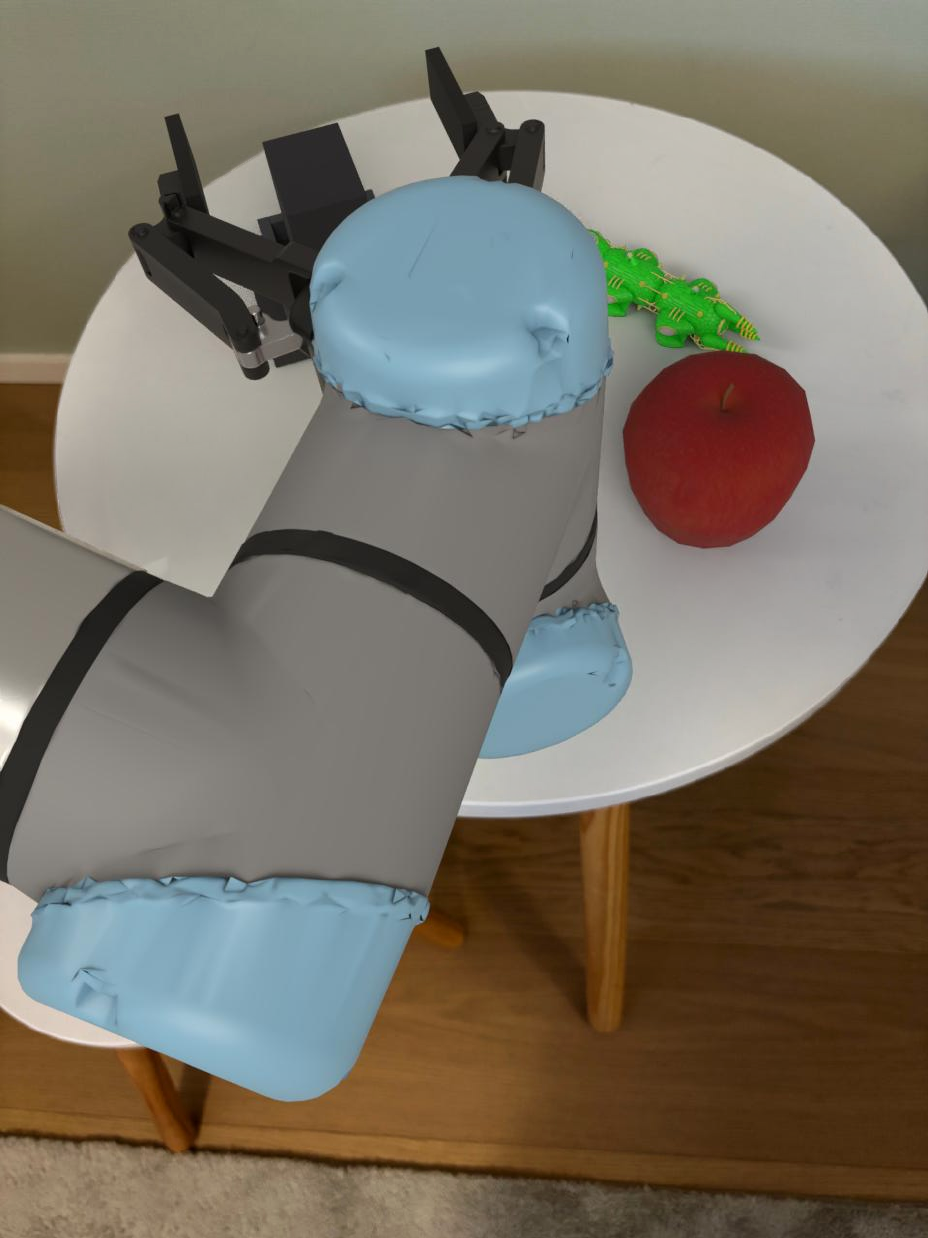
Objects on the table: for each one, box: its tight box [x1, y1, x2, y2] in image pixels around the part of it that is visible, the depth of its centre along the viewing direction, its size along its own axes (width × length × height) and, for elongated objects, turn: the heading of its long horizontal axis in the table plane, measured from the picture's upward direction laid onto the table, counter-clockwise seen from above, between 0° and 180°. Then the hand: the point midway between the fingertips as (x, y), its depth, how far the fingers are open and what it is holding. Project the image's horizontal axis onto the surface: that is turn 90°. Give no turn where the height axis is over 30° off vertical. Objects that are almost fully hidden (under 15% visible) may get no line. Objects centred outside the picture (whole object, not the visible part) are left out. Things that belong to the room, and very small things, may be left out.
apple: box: [621, 350, 816, 549], centre depth 67 cm, size 12×12×13 cm
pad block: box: [261, 122, 368, 252], centre depth 81 cm, size 6×9×10 cm, turn 17°
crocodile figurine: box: [586, 228, 761, 353], centre depth 81 cm, size 7×18×4 cm, turn 49°
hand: (308, 105), depth 53 cm, fingers open, 13 cm apart
